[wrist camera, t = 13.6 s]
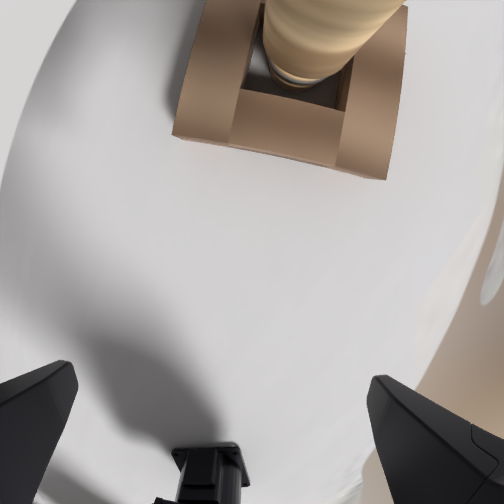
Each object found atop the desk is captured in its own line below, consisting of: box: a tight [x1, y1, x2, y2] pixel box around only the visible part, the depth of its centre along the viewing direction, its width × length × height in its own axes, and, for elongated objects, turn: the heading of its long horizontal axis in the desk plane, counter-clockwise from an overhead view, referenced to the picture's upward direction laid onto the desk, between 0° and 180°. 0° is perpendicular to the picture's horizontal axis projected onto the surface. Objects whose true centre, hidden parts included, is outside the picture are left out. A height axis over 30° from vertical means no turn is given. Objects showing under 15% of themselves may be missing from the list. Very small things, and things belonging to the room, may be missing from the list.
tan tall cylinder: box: [263, 0, 406, 92], centre depth 12 cm, size 4×4×13 cm
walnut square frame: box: [172, 0, 408, 180], centre depth 16 cm, size 12×12×3 cm
